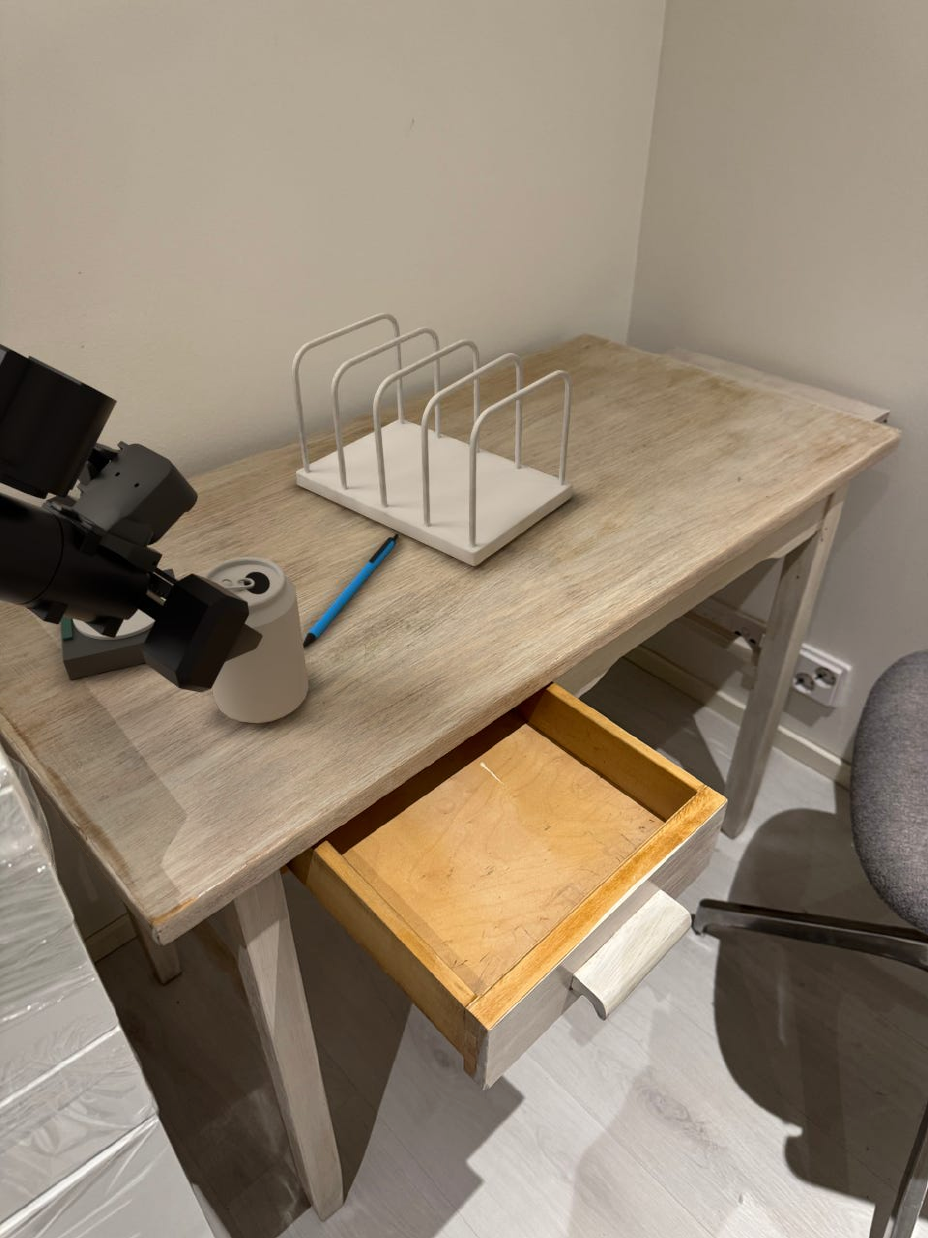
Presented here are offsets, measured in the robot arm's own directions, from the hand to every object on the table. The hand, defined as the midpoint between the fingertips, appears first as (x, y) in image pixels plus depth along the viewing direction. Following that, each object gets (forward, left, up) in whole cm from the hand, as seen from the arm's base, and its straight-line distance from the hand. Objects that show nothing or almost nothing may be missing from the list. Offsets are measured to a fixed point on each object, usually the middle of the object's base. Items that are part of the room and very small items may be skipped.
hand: (217, 614), depth 64 cm
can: (+2, +2, -10) cm, 11 cm away
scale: (-12, +10, -10) cm, 19 cm away
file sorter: (+13, +35, -10) cm, 39 cm away
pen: (+7, +17, -11) cm, 21 cm away
